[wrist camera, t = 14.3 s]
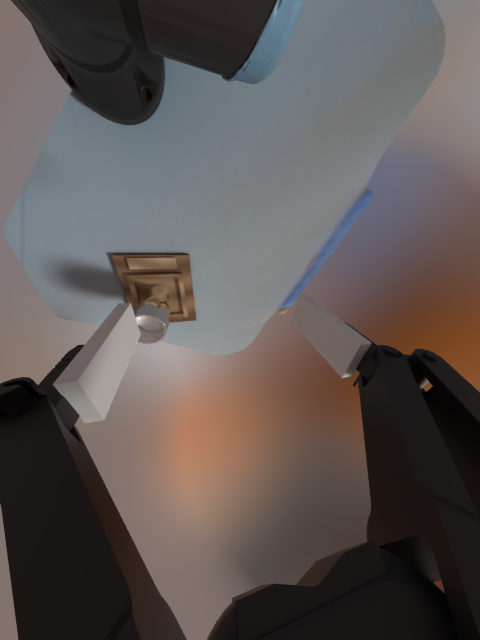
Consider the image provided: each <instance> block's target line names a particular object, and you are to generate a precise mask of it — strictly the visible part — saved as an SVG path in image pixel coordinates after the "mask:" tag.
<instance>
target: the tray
mask: <svg viewBox="0 0 480 640" xmlns="http://www.w3.org/2000/svg"><path fill="white" fill-rule="evenodd" d="M112 259H113V262H114V265H115V267H116V270H117V273H118V276H119V279H120V282H121V285H122V288H123V291H124V294H125V297H126V299H127V302H128V303H131V305H132V308H133V310H134V308H135V307H136V306H137V305H138V304H139V303H140V302H141V301H142V300H143V299H144V298H146V295H147V291H148V290H149V288H151V287H152V286H155V285H161V286H164V287H166V288H168V289H169V290H170V291H171V293H172V296H173V300H172V302H171V304H170V305H169V307H170V322H181V321H193V320H196V314H195V305H194V296H193V287H192V278H191V269H190V260H189V254H113V255H112Z"/></svg>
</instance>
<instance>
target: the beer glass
mask: <svg viewBox="0 0 480 640" xmlns="http://www.w3.org/2000/svg"><path fill="white" fill-rule="evenodd" d="M172 300H173V296H172V293H171V291H170V290H169V289H168V288H166V287H164V286H161V285H155V286H152V287H151V288H149V290H148V291H147V295H146V298H144V299H143V300H142V301H141V302H140V303H139V304H138V305H137V306H136V307H135V308H134V310H133V311H134V315H135V318H136V321H137V324H138V327H139V330H140V333H141V336H140V338H139V340H138V342H141V343H145V344H151V343H156V342H158V341H160V340H162V339H163V338H164V336H165V334H166V331H167V328H168V326H169V322H170V307H169V305H170V304H171V302H172Z"/></svg>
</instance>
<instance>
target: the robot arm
mask: <svg viewBox="0 0 480 640" xmlns="http://www.w3.org/2000/svg"><path fill="white" fill-rule="evenodd" d="M11 1H12V2H13V3H14V4H15V5H16V6H17V7H18V9H19V10H20V11H21V12H22V13H23V14H24V15H25V16H26V18H27V19H28V20H29V21H30V22H31V24H32V26H33V28H34V30H35V32H36V34H37V37H38V39H39V41H40V43H41V45H42V47H43V49H44V50H45V52H46V54H47V56H48V57H49V59H50V61H51V62H52V64H53V65H54V67H55V68H56V70H57V71H58V73H59V74H60V75H61V77H62V78H63V79H64V80H65V82H66V83H67V84H68V85H69V86H70V88H71V89H72V90H73V91H74V92H75V93H76V94H77V95H78V96H79V97H80V98H81V99H82V100H83V101H84V102H85V103H86V104H87V105H88V106H89V107H90V108H92V109H93V110H94V111H96V112H97V113H98V114H100V115H101V116H103V117H105V118H107V119H108V120H111V121H113V122H116V123H119V124H124V125H135V124H139V123H142V122H144V121H146V120H147V119H149V118H150V117H151V116H152V115H153V114H154V112H155V111H156V109H157V108H158V106H159V104H160V101H161V98H162V95H163V90H164V83H165V65H164V57H166V58H169V59H172V60H175V61H179V62H182V63H185V64H188V65H191V66H194V67H197V68H200V69H203V70H206V71H210V72H213V73H216V74H219V75H222V78H223V79H224V80H226V81H235V80H238V81H242V82H246V83H250V84H257V83H259V82H261V81H262V80H264V79H266V78H267V77H268V76H269V75H270V73H271V72H272V71H273V69H274V68H275V66H276V65H277V63H278V61H279V60H280V58H281V56H282V54H283V52H284V50H285V48H286V45H287V43H288V41H289V39H290V36H291V34H292V32H293V29H294V27H295V24H296V22H297V19H298V16H299V14H300V11H301V8H302V5H303V3H304V0H11ZM292 322H293V323H294V324H295V326H296V327H297V328H298V329H299V330H300V331H301V332H302V334H303V335H304V336H305V337H306V338H307V339H308V340H309V341H310V342H311V344H312V345H313V346H314V347H315V348H316V349H317V350H318V352H319V353H320V354H321V355H322V356H323V357H324V358H325V359H326V361H327V362H328V363H329V364H330V365H331V366H332V367H333V368H334V369H335V371H336V372H337V373H338V374H339V375H340V376H341V377H342V378H345V377H350V376H352V375H353V374H354V372H355V370H357V371H359V373H360V374H359V376H358V377H357V379H356V380H355V382H354V384H353V386H355V385H356V384H359V386H358V388H359V393H360V403H361V412H362V421H363V431H364V440H365V450H366V459H367V469H368V478H369V488H370V497H371V513H370V516H369V519H368V523H367V542H365V543H362V544H359V545H356V546H353V547H350V548H347V549H344V550H341V551H338V552H336V553H334V554H331V555H329V556H327V557H325V558H322V559H320V560H318V561H316V562H315V563H314V564H313V565H312V567H311V568H310V569H309V570H308V571H307V572H306V574H305V575H304V576H303V577H302V578H301V579H300V581H299V582H298V583H297V584H296V585H284V584H269V585H261V586H259V587H256V588H254V589H252V590H250V591H248V592H245V593H243V594H241V595H238V596H236V597H234V598H232V603H231V604H230V605H229V606H228V607H227V608H226V610H225V611H224V612H223V613H222V615H221V616H220V618H219V619H218V620H217V622H216V624H215V625H214V627H213V629H212V631H211V632H210V634H209V636H208V639H207V640H480V392H479V391H478V390H476V389H475V388H474V387H473V386H472V385H471V384H470V383H469V382H468V381H467V380H465V379H464V378H463V377H462V376H461V375H460V374H459V373H458V372H457V371H456V370H454V369H453V368H452V367H451V366H450V365H449V364H448V363H447V362H446V361H445V360H444V359H442V358H441V357H440V356H438V355H436V354H435V353H433V352H430V351H428V350H423V349H416V350H414V352H413V353H412V354H411V355H404V354H402V353H401V352H400V351H398V350H396V349H395V348H392V347H390V346H386V345H379V346H377V345H376V344H375V343H374V342H372V341H371V340H369V339H368V338H367V337H365V336H364V335H363V334H361V333H359V332H358V331H357V330H355V329H354V328H353V327H351V326H350V325H349V324H347V323H345V322H343V321H342V320H340V319H339V318H337V317H336V316H335V315H333V314H332V313H331V312H329V311H328V310H327V309H325V308H324V307H323V306H321V305H320V304H318V303H317V302H316V301H315V300H313V299H312V298H310V297H309V296H308V295H299V297H298V301H297V305H296V309H295V313H294V317H293V320H292ZM140 336H141V333H140V330H139V327H138V324H137V321H136V318H135V315H134V311H133V308H132V305H131V303H121V304H118V305H117V306H116V307H115V308H114V310H113V311H112V312H111V313H110V315H109V316H108V317H107V318H106V319H105V321H104V322H103V323H102V324H101V326H100V327H99V328H98V330H97V331H96V332H95V333H94V334H93V335H92V337H91V338H90V339H89V340H88V342H87V343H86V344H85V345H78V346H76V347H75V348H73V349H72V350H70V351H69V352H68V353H67V354H66V355H65V356H64V357H63V358H62V359H61V361H60V362H59V363H58V364H57V365H56V366H55V368H53V369H52V371H51V372H50V373H49V374H48V375H47V376H46V377H45V378H44V380H43V381H42V382H41V383H40V384H39V385H37V384H36V383H35V382H34V381H33V380H32V379H31V378H27V377H21V378H16V379H12V380H9V381H6V382H3V383H1V384H0V503H1V508H2V516H3V524H4V531H5V539H6V547H7V554H8V562H9V570H10V577H11V585H12V593H13V601H14V608H15V616H16V623H17V631H18V639H19V640H187V639H186V637H185V635H184V634H183V631H182V629H181V628H180V626H179V624H178V622H177V620H176V618H175V616H174V614H173V612H172V611H171V609H170V607H169V606H168V604H167V603H166V601H165V600H164V599H163V597H162V596H161V595H160V593H159V591H158V590H157V588H156V586H155V584H154V582H153V580H152V578H151V576H150V574H149V572H148V570H147V568H146V566H145V564H144V562H143V560H142V558H141V556H140V554H139V552H138V550H137V548H136V546H135V544H134V542H133V540H132V538H131V536H130V534H129V532H128V530H127V528H126V526H125V524H124V522H123V520H122V518H121V516H120V514H119V512H118V510H117V508H116V506H115V504H114V502H113V500H112V498H111V496H110V494H109V492H108V490H107V488H106V486H105V484H104V482H103V480H102V478H101V476H100V474H99V472H98V470H97V468H96V466H95V464H94V462H93V460H92V458H91V456H90V454H89V452H88V450H87V448H86V446H85V444H84V442H83V440H82V438H81V436H80V434H79V432H78V430H77V428H76V427H75V426H74V425H75V423H76V421H77V420H78V418H79V417H80V418H81V419H82V420H83V422H84V423H90V422H96V421H101V420H104V419H105V417H106V415H107V412H108V410H109V408H110V405H111V403H112V400H113V398H114V396H115V394H116V391H117V389H118V387H119V384H120V382H121V380H122V377H123V375H124V373H125V370H126V368H127V366H128V363H129V361H130V359H131V356H132V354H133V352H134V349H135V347H136V344H137V343H138V340H139V338H140ZM428 382H430V383H431V384H432V386H433V387H432V388H431V389H429V390H428V391H427V392H426V391H425V390H424V389H423V387H424V386H425V385H426V384H427V383H428ZM440 580H442V584H443V587H444V591H445V593H444V592H442V591H441V590H440V589H439V588H438V587H437V586H436V585H435V584H434V582H435V581H440Z"/></svg>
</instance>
